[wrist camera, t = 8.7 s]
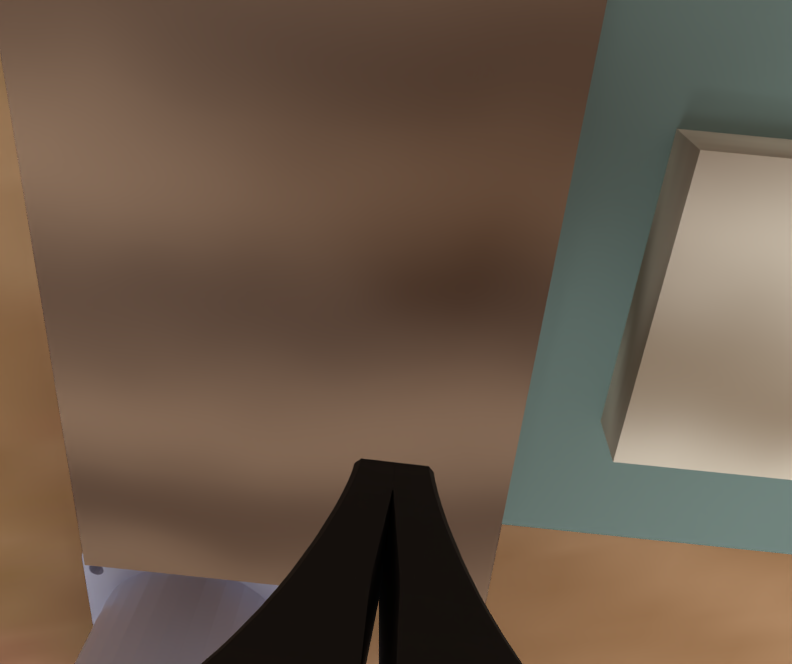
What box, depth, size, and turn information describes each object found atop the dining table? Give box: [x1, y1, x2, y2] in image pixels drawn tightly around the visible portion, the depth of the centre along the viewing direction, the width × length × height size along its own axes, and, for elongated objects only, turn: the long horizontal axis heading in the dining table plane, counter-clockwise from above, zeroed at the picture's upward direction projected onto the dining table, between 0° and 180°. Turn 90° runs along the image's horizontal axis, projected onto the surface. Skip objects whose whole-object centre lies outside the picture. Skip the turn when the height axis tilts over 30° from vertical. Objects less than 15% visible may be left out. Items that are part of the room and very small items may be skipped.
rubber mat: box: [502, 0, 792, 554], centre depth 21 cm, size 18×11×1 cm, turn 175°
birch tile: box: [601, 129, 792, 480], centre depth 20 cm, size 9×6×2 cm, turn 175°
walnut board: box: [0, 0, 607, 604], centre depth 20 cm, size 18×12×4 cm, turn 175°
